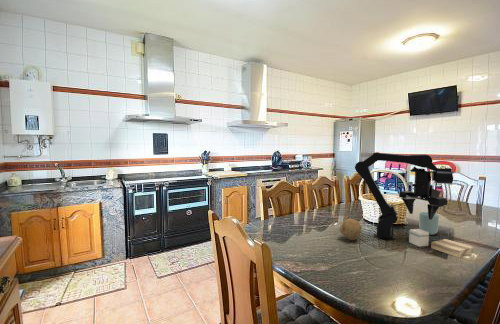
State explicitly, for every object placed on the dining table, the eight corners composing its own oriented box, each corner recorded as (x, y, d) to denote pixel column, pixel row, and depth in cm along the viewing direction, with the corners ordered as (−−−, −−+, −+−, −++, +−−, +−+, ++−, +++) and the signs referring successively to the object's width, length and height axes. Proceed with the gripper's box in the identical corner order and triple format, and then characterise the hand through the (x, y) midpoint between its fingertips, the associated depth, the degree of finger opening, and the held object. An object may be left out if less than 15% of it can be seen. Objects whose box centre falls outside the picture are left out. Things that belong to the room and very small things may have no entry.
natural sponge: (339, 241, 110) (340, 220, 110) (340, 235, 118) (340, 215, 118) (361, 244, 107) (361, 222, 106) (360, 237, 115) (360, 217, 115)
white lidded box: (419, 246, 105) (419, 233, 105) (408, 242, 110) (409, 229, 110) (428, 245, 106) (429, 232, 106) (418, 241, 111) (418, 228, 111)
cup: (441, 236, 117) (442, 216, 116) (423, 235, 118) (424, 215, 118) (432, 231, 125) (433, 212, 124) (415, 230, 126) (416, 211, 126)
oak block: (458, 258, 94) (459, 251, 94) (431, 249, 103) (431, 242, 103) (473, 254, 98) (473, 247, 98) (445, 245, 107) (445, 238, 107)
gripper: (458, 184, 101) (456, 221, 102) (416, 179, 119) (415, 210, 120) (438, 185, 98) (436, 223, 99) (398, 179, 116) (397, 211, 117)
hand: (420, 216), depth 109 cm, fingers open, 9 cm apart
